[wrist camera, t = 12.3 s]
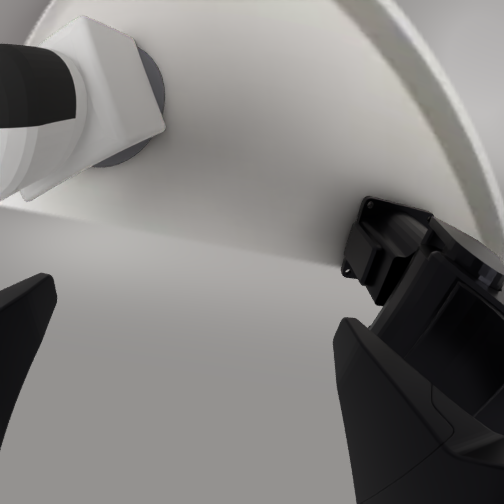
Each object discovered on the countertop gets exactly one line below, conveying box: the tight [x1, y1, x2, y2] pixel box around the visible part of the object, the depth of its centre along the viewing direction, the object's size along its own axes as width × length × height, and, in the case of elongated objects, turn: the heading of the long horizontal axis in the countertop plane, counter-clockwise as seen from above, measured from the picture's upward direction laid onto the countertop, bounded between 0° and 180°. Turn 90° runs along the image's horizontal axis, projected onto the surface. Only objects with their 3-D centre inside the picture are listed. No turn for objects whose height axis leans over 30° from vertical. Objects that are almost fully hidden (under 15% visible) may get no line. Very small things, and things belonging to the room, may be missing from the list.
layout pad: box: [91, 47, 165, 167], centre depth 17 cm, size 9×9×1 cm
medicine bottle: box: [0, 16, 166, 202], centre depth 11 cm, size 7×7×12 cm
